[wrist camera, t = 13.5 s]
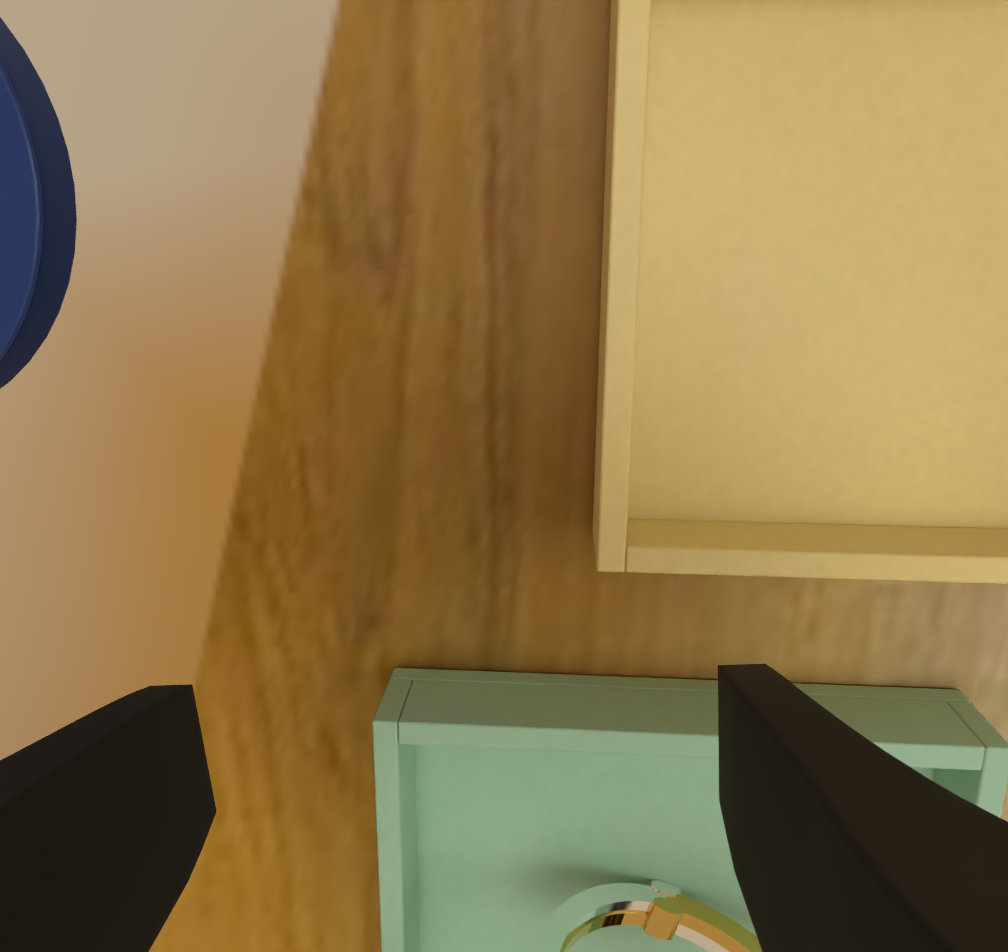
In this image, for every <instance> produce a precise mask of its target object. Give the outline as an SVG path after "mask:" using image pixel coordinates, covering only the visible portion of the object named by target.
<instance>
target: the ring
mask: <svg viewBox="0 0 1008 952" xmlns="http://www.w3.org/2000/svg"><path fill="white" fill-rule="evenodd" d="M680 893H681V891H680V890H679V889H678V888H677V887H676V886H674V885H672V884H670V883H667V882H664V881H658V880H654V881H651V883H650V885H643V884H634V883H612V884H604V885H599V886H595V887H592V888H589V889H586V890H584V891H581V892H579V893H577V894H576V895H574V896H572V897H571V898H569V899H568V900H567V901H565V902H564V903H563V904H562V905H561V906H560V907H558V908H557V910H556V911H555V912H554V913H553V914H552V915H551V917H550V918H549V919H548V921H547V922H546V924H545V926H544V928H543V930H542V932H541V934H540V936H539V938H538V941H537V943H536V945H535V948H534V950H533V952H567V951H568V950H569V949H570V948H571V947H572V945H573V944H575V943H576V942H577V941H578V940H579V939H581V938H582V937H583V936H585V935H587V934H588V933H590V932H592V931H595V930H597V929H600V928H604V927H608V926H615V925H636V926H643V930H644V931H645V932H646V933H647V934H649V935H651V936H653V937H655V938H658V939H662V940H672V939H673V937H674V935H677V936H680V937H682V938H684V939H687V940H689V941H691V942H693V943H695V944H697V945H699V946H701V947H702V948H704V949H706V950H707V951H709V952H762V949H761V946H760V944H759V941H758V938H757V936H755V935H754V934H753V933H751V932H750V931H749V930H747V929H746V928H744V927H743V926H741V925H740V924H738V923H737V922H735V921H734V920H732V919H731V918H729V917H727V916H726V915H724V914H722V913H720V912H718V911H717V910H715V909H713V908H711V907H709V906H707V905H705V904H703V903H700V902H698V901H696V900H694V899H691V898H689V897H686V896H684V895H681V894H680Z"/></svg>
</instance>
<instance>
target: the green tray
mask: <svg viewBox="0 0 1008 952" xmlns="http://www.w3.org/2000/svg"><path fill="white" fill-rule="evenodd" d="M792 684H794V685H795V686H796V687H797V688H799V689H800V690H801V691H803V692H804V693H805V694H807V695H808V696H809V697H811V698H812V699H813V700H815V701H816V702H817V703H819V704H820V705H821V706H822V707H824V708H825V709H827V710H828V711H829V712H831V713H832V714H833V715H835V716H836V717H837V718H839V719H840V720H841V721H843V722H844V723H846V724H847V725H848V726H850V727H851V728H853V729H854V730H855V731H857V732H858V733H860V734H861V735H862V736H864V737H865V738H867V739H868V740H870V741H871V742H873V743H874V744H876V745H877V746H879V747H880V748H882V749H883V750H884V751H886V752H887V753H889V754H890V755H892V756H894V757H895V758H897V759H898V760H900V761H902V762H903V763H905V764H906V765H908V766H910V767H911V768H913V769H914V770H916V771H917V772H919V773H921V774H922V775H924V776H925V777H927V778H929V779H930V780H932V781H933V782H935V783H937V784H939V785H940V786H942V787H944V788H945V789H947V790H949V791H951V792H952V793H954V794H956V795H958V796H959V797H961V798H963V799H965V800H967V801H969V802H971V803H973V804H975V805H976V806H978V807H980V808H982V809H984V810H986V811H988V812H990V813H992V814H993V815H995V816H997V817H999V818H1001V813H1002V808H1003V803H1004V798H1005V792H1006V787H1007V782H1008V743H1007V742H1006V740H1005V739H1004V738H1003V737H1002V736H1001V735H1000V734H999V733H998V732H997V731H996V729H995V728H994V727H993V726H992V725H991V724H990V723H989V722H988V721H987V720H986V719H985V717H984V716H983V715H982V714H981V713H980V712H979V711H978V710H977V709H976V708H975V707H974V705H973V704H972V703H969V700H968V699H967V698H966V697H965V696H964V695H963V693H962V692H961V691H960V690H956V689H930V688H905V687H879V686H853V685H827V684H801V683H792ZM372 728H373V752H374V777H375V801H376V826H377V850H378V875H379V899H380V924H381V948H382V952H533V950H534V948H535V945H536V943H537V941H538V938H539V936H540V934H541V932H542V930H543V928H544V926H545V924H546V922H547V921H548V919H549V918H550V917H551V915H552V914H553V913H554V912H555V911H556V910H557V908H558V907H560V906H561V905H562V904H563V903H564V902H565V901H567V900H568V899H569V898H571V897H572V896H574V895H576V894H577V893H579V892H581V891H584V890H586V889H589V888H592V887H595V886H599V885H604V884H612V883H634V884H643V885H650V883H651V881H654V880H658V881H664V882H667V883H670V884H672V885H674V886H676V887H677V888H678V889H679V890H680V891H681V893H680V894H681V895H684V896H686V897H689V898H691V899H694V900H696V901H698V902H700V903H703V904H705V905H707V906H709V907H711V908H713V909H715V910H717V911H718V912H720V913H722V914H724V915H726V916H727V917H729V918H731V919H732V920H734V921H735V922H737V923H738V924H740V925H741V926H743V927H744V928H746V929H747V930H749V931H750V932H751V933H753V934H754V935H755V936H757V935H756V932H755V929H754V927H753V924H752V921H751V918H750V915H749V912H748V909H747V906H746V903H745V900H744V898H743V895H742V892H741V889H740V886H739V883H738V880H737V877H736V874H735V871H734V867H733V862H732V858H731V853H730V849H729V845H728V840H727V835H726V831H725V826H724V821H723V816H722V812H721V807H720V802H719V741H718V680H698V679H672V678H646V677H620V676H595V675H569V674H543V673H517V672H491V671H465V670H440V669H414V668H395V669H394V671H393V673H392V675H391V678H390V680H389V683H388V685H387V688H386V690H385V692H384V695H383V697H382V700H381V702H380V705H379V707H378V710H377V712H376V714H375V717H374V719H373V722H372ZM567 952H709V951H707V950H706V949H704V948H702V947H701V946H699V945H697V944H695V943H693V942H691V941H689V940H687V939H684V938H682V937H680V936H677V935H674V937H673V939H672V940H662V939H658V938H655V937H653V936H651V935H649V934H647V933H646V932H645V931H644V930H643V926H636V925H615V926H608V927H604V928H600V929H597V930H595V931H592V932H590V933H588V934H587V935H585V936H583V937H582V938H581V939H579V940H578V941H577V942H576V943H575V944H573V945H572V947H571V948H570V949H569V950H568V951H567Z"/></svg>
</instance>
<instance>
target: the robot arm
mask: <svg viewBox="0 0 1008 952" xmlns="http://www.w3.org/2000/svg"><path fill="white" fill-rule="evenodd" d="M718 741H719V802H720V807H721V812H722V816H723V821H724V826H725V831H726V835H727V840H728V845H729V849H730V853H731V858H732V862H733V867H734V871H735V874H736V877H737V880H738V883H739V886H740V889H741V892H742V895H743V898H744V900H745V903H746V906H747V909H748V912H749V915H750V918H751V921H752V924H753V927H754V929H755V932H756V935H757V938H758V941H759V944H760V946H761V949H762V952H1008V822H1007V821H1005V820H1003V819H1001V818H999V817H997V816H995V815H993V814H992V813H990V812H988V811H986V810H984V809H982V808H980V807H978V806H976V805H975V804H973V803H971V802H969V801H967V800H965V799H963V798H961V797H959V796H958V795H956V794H954V793H952V792H951V791H949V790H947V789H945V788H944V787H942V786H940V785H939V784H937V783H935V782H933V781H932V780H930V779H929V778H927V777H925V776H924V775H922V774H921V773H919V772H917V771H916V770H914V769H913V768H911V767H910V766H908V765H906V764H905V763H903V762H902V761H900V760H898V759H897V758H895V757H894V756H892V755H890V754H889V753H887V752H886V751H884V750H883V749H882V748H880V747H879V746H877V745H876V744H874V743H873V742H871V741H870V740H868V739H867V738H865V737H864V736H862V735H861V734H860V733H858V732H857V731H855V730H854V729H853V728H851V727H850V726H848V725H847V724H846V723H844V722H843V721H841V720H840V719H839V718H837V717H836V716H835V715H833V714H832V713H831V712H829V711H828V710H827V709H825V708H824V707H822V706H821V705H820V704H819V703H817V702H816V701H815V700H813V699H812V698H811V697H809V696H808V695H807V694H805V693H804V692H803V691H801V690H800V689H799V688H797V687H796V686H795V685H794V684H792V683H791V682H790V681H788V680H787V679H786V678H784V677H783V676H782V675H780V674H779V673H778V672H776V671H775V670H774V669H772V668H771V667H769V666H768V665H766V664H746V665H718ZM215 814H216V807H215V802H214V796H213V791H212V786H211V781H210V776H209V770H208V765H207V760H206V755H205V749H204V744H203V739H202V734H201V728H200V723H199V718H198V713H197V708H196V702H195V697H194V692H193V687H192V685H165V686H149V687H146V688H144V689H141V690H138V691H136V692H133V693H131V694H129V695H127V696H124V697H122V698H120V699H118V700H116V701H114V702H112V703H110V704H108V705H106V706H104V707H102V708H100V709H98V710H96V711H94V712H92V713H90V714H88V715H86V716H84V717H82V718H80V719H78V720H76V721H75V722H73V723H71V724H69V725H67V726H65V727H63V728H61V729H59V730H57V731H56V732H54V733H52V734H51V735H48V736H46V737H44V738H42V739H41V740H39V741H37V742H35V743H33V744H31V745H29V746H27V747H25V748H23V749H22V750H20V751H18V752H16V753H14V754H12V755H10V756H8V757H6V758H4V759H2V760H0V952H148V951H149V949H150V948H151V946H152V944H153V943H154V941H155V939H156V937H157V936H158V934H159V932H160V930H161V929H162V927H163V925H164V923H165V922H166V920H167V918H168V916H169V914H170V913H171V911H172V909H173V907H174V906H175V904H176V902H177V900H178V899H179V897H180V895H181V893H182V891H183V889H184V888H185V886H186V884H187V882H188V880H189V878H190V876H191V873H192V871H193V869H194V866H195V864H196V862H197V859H198V857H199V855H200V852H201V850H202V848H203V845H204V842H205V840H206V837H207V835H208V832H209V829H210V827H211V824H212V822H213V819H214V816H215Z"/></svg>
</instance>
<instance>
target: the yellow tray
mask: <svg viewBox="0 0 1008 952" xmlns="http://www.w3.org/2000/svg"><path fill="white" fill-rule="evenodd" d="M593 540H594V549H595V558H596V568H597V571H599V572H624V570H625V571H626V572H632V573H665V574H697V575H730V576H763V577H796V578H829V579H862V580H894V581H927V582H960V583H993V584H1008V0H611V19H610V48H609V77H608V105H607V134H606V162H605V191H604V219H603V248H602V276H601V305H600V333H599V362H598V390H597V419H596V448H595V476H594V505H593Z"/></svg>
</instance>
